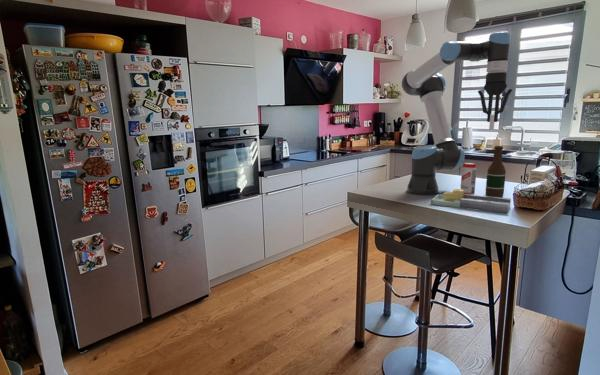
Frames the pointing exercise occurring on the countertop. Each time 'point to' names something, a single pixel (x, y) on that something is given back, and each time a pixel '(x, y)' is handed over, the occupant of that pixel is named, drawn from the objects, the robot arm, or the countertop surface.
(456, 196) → the chip front
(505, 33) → the robot arm
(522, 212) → the countertop surface
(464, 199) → the slot board
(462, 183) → the white red canister
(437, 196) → the tray
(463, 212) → the countertop surface
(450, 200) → the chip back
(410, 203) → the countertop surface
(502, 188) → the beer bottle
